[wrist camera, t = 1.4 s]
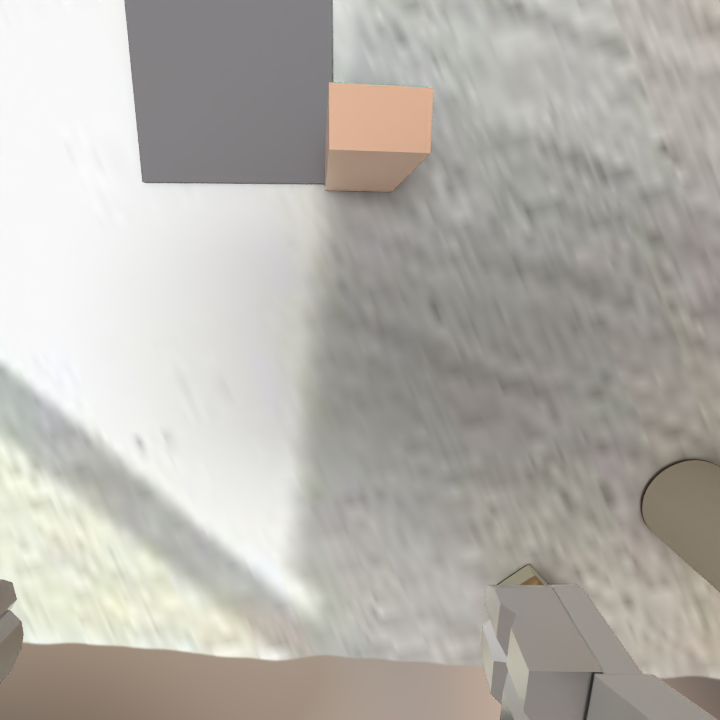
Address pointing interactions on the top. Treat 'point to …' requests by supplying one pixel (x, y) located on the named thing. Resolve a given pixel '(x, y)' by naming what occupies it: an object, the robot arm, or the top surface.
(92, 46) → the top surface
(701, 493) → the travel mug
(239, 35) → the mat
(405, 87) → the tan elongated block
